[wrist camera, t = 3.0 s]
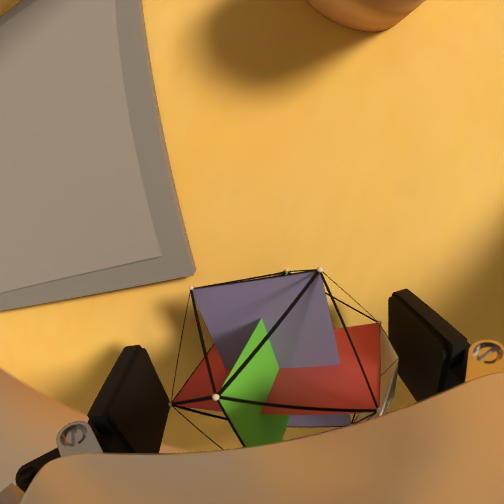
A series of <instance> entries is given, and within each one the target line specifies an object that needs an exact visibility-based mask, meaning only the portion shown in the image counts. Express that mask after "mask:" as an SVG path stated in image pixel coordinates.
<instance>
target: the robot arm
mask: <svg viewBox="0 0 504 504" xmlns="http://www.w3.org/2000/svg"><path fill="white" fill-rule="evenodd" d="M388 316H389V322H388V338H389V340H390V342H391V344H392V346H393V348H394V349H395V351H396V353H397V355H398V357H399V362H398V371H397V373H398V375H399V376H400V378H401V379H402V380H403V382H404V383H405V385H406V386H407V388H408V389H409V391H410V392H411V394H412V395H413V397H414V398H415V400H416V401H417V402H416V403H414V404H411V405H409V406H406V407H403V408H401V409H398V410H395V411H392V412H390V413H387V414H384V415H381V416H378V417H375V418H372V419H369V420H365V421H362V422H359V423H356V424H352V425H349V426H345V427H342V428H338V429H334V430H330V431H326V432H322V433H318V434H314V435H310V436H305V437H301V438H296V439H291V440H286V441H280V442H275V443H269V444H263V445H256V446H250V447H242V448H234V449H225V450H215V451H203V452H187V453H159V450H160V446H161V441H162V437H163V433H164V429H165V425H166V421H167V417H168V413H169V409H170V406H169V405H168V403H169V402H170V401H169V398H168V396H167V394H166V392H165V390H164V388H163V386H162V384H161V382H160V380H159V377H158V375H157V373H156V371H155V369H154V366H153V364H152V362H151V360H150V357H149V355H148V353H147V351H146V349H145V348H142V347H141V346H140V345H134V346H126V347H125V348H124V349H123V351H122V353H121V354H120V356H119V358H118V360H117V361H116V363H115V365H114V367H113V368H112V370H111V372H110V374H109V376H108V377H107V379H106V381H105V383H104V385H103V387H102V388H101V390H100V392H99V394H98V396H97V398H96V399H95V401H94V403H93V405H92V407H91V409H90V411H89V413H88V415H87V416H88V418H89V421H88V423H86V422H82V421H76V422H72V423H69V424H68V425H66V426H64V427H63V428H62V429H61V430H60V432H59V433H58V435H57V438H56V440H57V446H58V448H56V449H54V450H52V451H50V452H48V453H46V454H44V455H42V456H40V457H38V458H37V459H35V460H33V461H31V462H29V463H27V464H25V465H23V466H22V467H21V468H20V469H19V470H18V472H17V474H16V485H14V484H13V483H11V484H10V485H9V486H7V487H6V488H5V489H4V490H3V491H1V492H0V504H504V346H503V345H502V344H501V343H499V342H497V341H494V340H480V341H477V342H475V343H473V344H472V345H470V344H469V343H468V342H467V338H465V337H464V336H463V335H462V334H461V333H460V332H459V331H457V330H456V329H455V328H454V327H453V326H452V325H450V324H449V323H448V322H447V321H446V320H445V319H443V318H442V317H441V316H440V315H439V314H437V313H436V312H435V311H434V310H433V309H431V308H430V307H429V306H428V305H427V304H425V303H424V302H423V301H422V300H421V299H419V298H418V297H417V296H416V295H414V294H413V293H412V292H411V291H409V290H408V289H403V290H400V291H397V292H393V294H392V297H390V298H389V300H388Z"/></svg>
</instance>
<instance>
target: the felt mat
mask: <svg viewBox="0 0 504 504" xmlns="http://www.w3.org/2000/svg"><path fill="white" fill-rule="evenodd" d="M195 271H196V267H195V264H194V260H193V256H192V253H191V249H190V245H189V241H188V237H187V233H186V230H185V226H184V222H183V218H182V214H181V210H180V205H179V201H178V197H177V193H176V189H175V184H174V180H173V176H172V171H171V167H170V162H169V157H168V153H167V148H166V143H165V139H164V134H163V129H162V124H161V119H160V114H159V108H158V103H157V98H156V92H155V86H154V81H153V75H152V69H151V63H150V56H149V50H148V43H147V37H146V30H145V22H144V15H143V7H142V0H22V1H21V2H19V3H18V4H16V5H15V6H14V7H12V8H11V9H10V10H8V11H7V12H6V13H4V14H3V15H2V16H1V17H0V311H3V310H9V309H15V308H21V307H26V306H32V305H37V304H43V303H49V302H54V301H60V300H65V299H71V298H76V297H81V296H87V295H92V294H98V293H103V292H108V291H114V290H119V289H124V288H130V287H135V286H140V285H145V284H151V283H156V282H161V281H166V280H171V279H176V278H182V277H187V276H192V275H194V273H195Z"/></svg>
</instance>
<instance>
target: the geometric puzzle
mask: <svg viewBox="0 0 504 504" xmlns="http://www.w3.org/2000/svg"><path fill="white" fill-rule="evenodd" d="M298 271H304V272H298V273H290V272H297V271H289V270H288V269H286V270H285V272H280V273H275V274H269V275H264V276H258V277H253V278H247V279H242V280H236V281H231V282H225V283H219V284H213V285H208V286H202V287H196V288H194V287H193V286H190V287H189V289H190V292H191V297H192V302H193V307H194V312H195V317H196V321H197V326H198V331H199V335H200V340H201V344H202V348H203V353H204V358H203V360H202V361H201V362H200V364H199V365H198V366H197V368H196V369H195V371H194V372H193V373H192V375H191V376H190V378H189V379H188V380H187V382H186V383H185V384H184V386H183V387H182V389H181V390H180V391H179V393H178V394H177V395H176V397H175V398H174V400H173V401H172V398H171V401H172V402H169V403H168V405H169V406H170V407H171V406H172V407H174V408H175V407H178V408H181V409H185V410H188V411H192V412H196V413H199V414H203V415H207V416H211V417H215V418H220V419H224V420H228V422H229V423H230V425H231V427H232V429H233V430H234V432H235V434H236V435H237V437H238V439H239V440H240V442H241V444H242V445H243V447H250V446H256V445H263V444H269V443H275V442H280V441H282V438H283V435H284V432H285V430H286V427H345V426H349V425H352V423H353V424H356V423H359V422H362V421H365V420H369V419H372V418H375V417H378V416H381V415H384V414H385V413H386V411H387V409H388V407H389V405H390V403H391V401H392V399H393V397H394V394H395V387H396V379H397V371H398V362H399V357H398V355H397V353H396V351H395V349H394V348H393V346H392V344H391V342H390V340H389V338H388V337H387V335H386V333H385V331H384V330H383V328H382V326H381V321H376V319H375V318H374V317H373V316H372V315H371V314H370V313H369V314H370V315H371V316H372V317H373V318H374V319H375V320H374V319H372V318H371V317H369V316H367V315H365V314H363V313H362V312H360V311H358V310H356V309H354V308H353V307H351V306H349V305H347V304H345V303H344V302H342V301H340V300H338V299H336V298H335V297H333V296H332V294H331V292H330V290H329V287H328V285H327V283H326V281H325V279H324V276H323V274H322V271H323V269H322V267H318V268H317V269H313V270H298ZM281 273H283V274H282V275H279V276H273V277H266V278H260V277H265V276H270V275H276V274H281ZM323 273H324V272H323ZM324 274H325V273H324ZM325 275H326V274H325ZM326 276H327V275H326ZM327 277H328V276H327ZM254 278H259V279H254ZM328 278H329V277H328ZM249 279H253V280H249ZM244 280H246V281H244ZM322 280H323V281H322ZM331 280H332V279H331ZM238 281H239V282H238ZM332 281H333V280H332ZM323 282H324V284H325V286H326V288H327V291H328V293H329V294H328V293H326V292H325V289H324V285H323ZM333 282H334V281H333ZM334 283H335V282H334ZM335 284H336V283H335ZM336 285H337V284H336ZM340 288H341V287H340ZM341 289H342V288H341ZM342 290H343V289H342ZM343 291H344V290H343ZM344 292H345V291H344ZM345 293H346V292H345ZM326 294H327V295H329V296H330V297H331V300H332V302H333V304H334V306H335V309H336V311H337V313H338V315H339V318H340V320H341V322H342V325H343V327H344V328H336V329H333V325H332V320H331V316H330V311H329V307H328V302H327V298H326ZM349 296H350V295H349ZM189 297H190V294H189ZM350 297H351V296H350ZM194 298H195V300H196V303H197V305H198V308H199V310H200V312H201V315H202V317H203V319H204V322H205V324H206V326H207V329H208V331H209V333H210V336H211V338H212V340H213V342H214V344H213V346H212V347H211V348H210V350H209V351H208V353H207V352H206V348H205V344H204V340H203V336H202V331H201V327H200V323H199V318H198V314H197V309H196V304H195V300H194ZM351 298H352V297H351ZM334 299H336V300H338V301H339V302H341V303H343V304H345V305H347V306H348V307H350V308H352V309H354V310H356V311H357V312H359V313H361V314H363V315H364V316H366V317H368V318H370V319H372V320H373V321H375V322H377V323H374V324H367V325H360V326H353V327H346V326H345V324H344V321H343V319H342V317H341V314H340V312H339V310H338V308H337V305H336V303H335V301H334ZM352 299H353V298H352ZM353 300H354V299H353ZM354 301H355V300H354ZM188 302H189V299H188ZM359 305H360V304H359ZM360 306H361V305H360ZM187 307H188V304H187ZM361 307H362V306H361ZM362 308H363V307H362ZM363 309H364V308H363ZM364 310H365V309H364ZM186 313H187V309H186ZM185 318H186V315H185ZM184 323H185V320H184ZM183 329H184V325H183ZM182 334H183V331H182ZM181 340H182V336H181ZM180 346H181V342H180ZM179 351H180V348H179ZM178 357H179V354H178ZM177 363H178V360H177ZM176 369H177V366H176ZM175 375H176V372H175ZM174 382H175V378H174ZM173 388H174V384H173ZM172 395H173V391H172ZM186 407H190V408H197V409H206V410H215V411H223V413H224V415H225V416H226V418H225V417H221V416H216V415H212V414H208V413H204V412H201V411H197V410H193V409H190V408H186ZM175 409H176V408H175ZM176 410H177V409H176ZM177 411H178V410H177ZM178 412H179V411H178ZM179 413H180V412H179ZM350 413H354V416H353V419H352V422H351V421H350V415H349V414H350ZM356 413H359V414H358V416H357V417H356V419H355V421H354V422H353V420H354V417H355V414H356ZM180 414H181V413H180ZM181 415H182V414H181ZM182 416H183V415H182ZM183 417H184V416H183ZM184 418H186V417H184ZM186 419H187V418H186ZM187 420H188V419H187ZM188 421H189V420H188ZM189 422H190V421H189ZM190 423H191V422H190ZM191 424H192V423H191ZM192 425H193V424H192ZM194 426H195V425H194ZM195 427H196V426H195ZM196 428H197V427H196ZM197 429H198V428H197ZM198 430H199V429H198ZM199 431H200V430H199ZM200 432H202V431H200ZM202 433H203V432H202ZM203 434H204V433H203ZM204 435H205V434H204ZM205 436H206V435H205ZM206 437H208V436H206ZM208 438H209V437H208ZM209 439H210V438H209ZM210 440H211V439H210ZM211 441H212V440H211ZM212 442H214V441H212ZM214 443H215V442H214ZM215 444H216V443H215ZM216 445H217V444H216ZM217 446H219V445H217ZM219 447H220V446H219ZM220 448H221V447H220ZM221 449H222V448H221ZM222 450H224V449H222Z"/></svg>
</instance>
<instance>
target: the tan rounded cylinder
mask: <svg viewBox="0 0 504 504" xmlns="http://www.w3.org/2000/svg"><path fill="white" fill-rule="evenodd" d="M307 1H308V2H309V4H310V5H312V6H313V7H314V8H315V9H316V10H317V11H318V12H320V13H321V14H322V15H324V16H325V17H327V18H329V19H330V20H332V21H334V22H336V23H338V24H340V25H343V26H345V27H348V28H352V29H355V30H360V31H368V32H378V31H384V30H387V29H389V28H391V27H393V26H395V25H396V24H397V23H398V22H400V21H401V20H402V19H403V18H405V17H406V16H407V15H408V14H409V13H411V12H412V11H413V10H414V9H416V8H417V7H418V6H419V5H421V4H422V3H423V2H425V1H426V0H307Z"/></svg>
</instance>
